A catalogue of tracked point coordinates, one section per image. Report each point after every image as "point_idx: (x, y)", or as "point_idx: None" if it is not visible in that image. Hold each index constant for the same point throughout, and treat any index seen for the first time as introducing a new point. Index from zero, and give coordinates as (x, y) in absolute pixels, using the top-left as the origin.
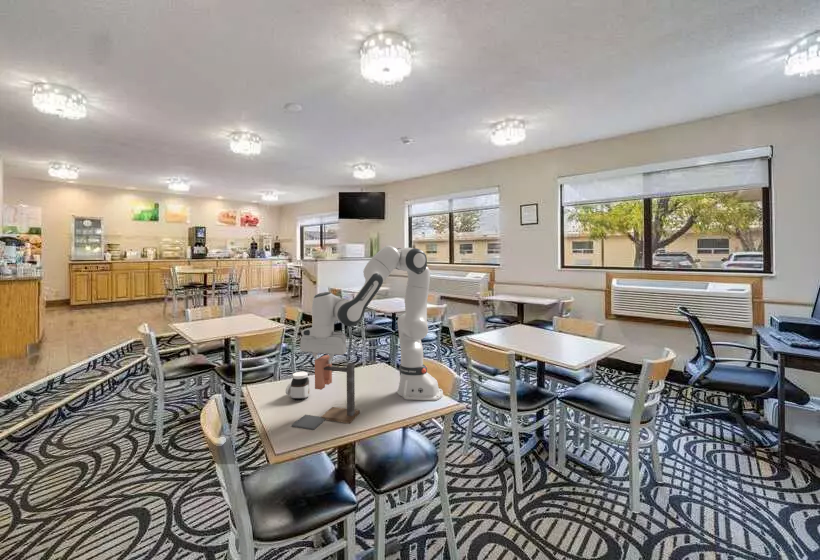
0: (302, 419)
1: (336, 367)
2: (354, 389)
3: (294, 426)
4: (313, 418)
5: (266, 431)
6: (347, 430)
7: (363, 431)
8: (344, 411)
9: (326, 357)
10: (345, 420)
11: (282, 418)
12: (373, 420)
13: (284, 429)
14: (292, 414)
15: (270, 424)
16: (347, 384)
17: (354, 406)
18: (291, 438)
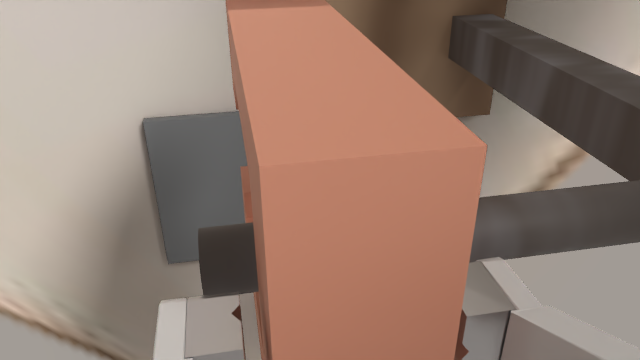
0: (179, 187)
1: (572, 246)
2: (613, 66)
3: (190, 257)
4: (240, 152)
5: (81, 340)
6: (490, 181)
7: (573, 160)
8: (408, 1)
9: (427, 355)
10: (457, 114)
11: (23, 202)
12: (611, 20)
13: (157, 292)
14: (34, 130)
15: (26, 284)
16: (596, 152)
17: (520, 27)
18: (258, 335)
